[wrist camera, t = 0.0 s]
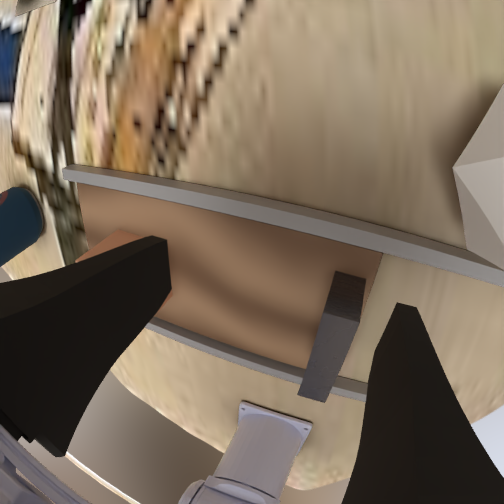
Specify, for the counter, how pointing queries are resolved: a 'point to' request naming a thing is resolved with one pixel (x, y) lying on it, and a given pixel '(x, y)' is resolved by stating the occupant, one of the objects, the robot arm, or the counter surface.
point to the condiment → (30, 5)
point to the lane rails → (291, 219)
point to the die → (484, 186)
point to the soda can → (18, 222)
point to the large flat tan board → (249, 280)
